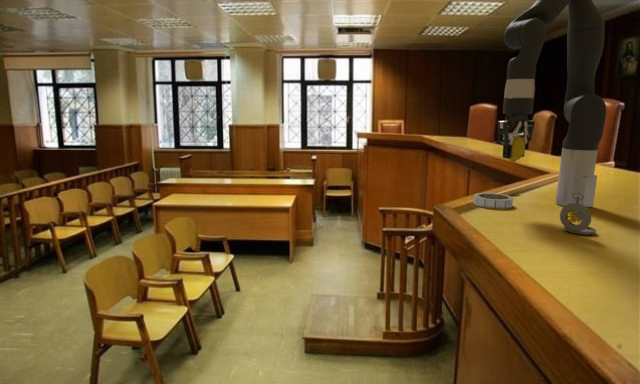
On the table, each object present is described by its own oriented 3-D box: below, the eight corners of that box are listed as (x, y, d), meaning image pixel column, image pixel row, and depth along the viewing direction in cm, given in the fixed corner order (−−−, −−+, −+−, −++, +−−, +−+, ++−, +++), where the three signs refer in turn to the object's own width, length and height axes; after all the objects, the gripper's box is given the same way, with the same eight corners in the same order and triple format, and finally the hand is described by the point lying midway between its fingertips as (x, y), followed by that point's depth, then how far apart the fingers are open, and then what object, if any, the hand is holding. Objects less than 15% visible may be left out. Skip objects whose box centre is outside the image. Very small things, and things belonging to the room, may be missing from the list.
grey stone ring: (519, 206, 132) (520, 198, 131) (496, 210, 126) (496, 201, 126) (489, 199, 141) (490, 191, 140) (465, 202, 135) (466, 194, 135)
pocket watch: (591, 230, 107) (597, 189, 105) (601, 239, 99) (607, 196, 97) (554, 226, 109) (559, 187, 107) (560, 235, 102) (565, 193, 100)
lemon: (522, 164, 120) (525, 135, 119) (500, 163, 123) (503, 134, 121) (524, 162, 125) (527, 134, 123) (503, 161, 128) (506, 133, 126)
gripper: (521, 97, 127) (516, 155, 131) (490, 96, 120) (485, 157, 123) (546, 96, 121) (540, 157, 124) (515, 96, 113) (509, 160, 117)
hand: (513, 157), depth 124 cm, fingers closed on lemon, 5 cm apart
